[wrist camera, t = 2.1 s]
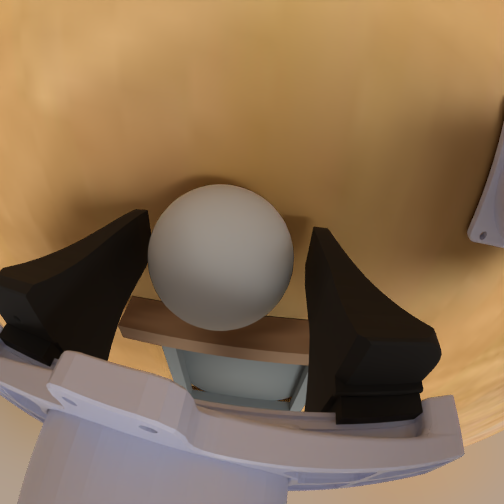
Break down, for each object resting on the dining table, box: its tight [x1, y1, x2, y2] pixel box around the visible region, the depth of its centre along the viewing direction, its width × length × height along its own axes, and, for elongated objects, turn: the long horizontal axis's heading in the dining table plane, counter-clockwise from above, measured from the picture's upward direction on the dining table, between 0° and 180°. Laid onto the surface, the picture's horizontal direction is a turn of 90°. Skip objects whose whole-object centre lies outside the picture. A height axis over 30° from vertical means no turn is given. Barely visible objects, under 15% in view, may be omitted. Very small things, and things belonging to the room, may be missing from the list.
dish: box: [162, 346, 308, 412], centre depth 21 cm, size 11×11×1 cm
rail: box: [118, 296, 310, 365], centre depth 17 cm, size 15×1×2 cm, turn 86°
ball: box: [148, 184, 294, 331], centre depth 11 cm, size 6×6×6 cm
